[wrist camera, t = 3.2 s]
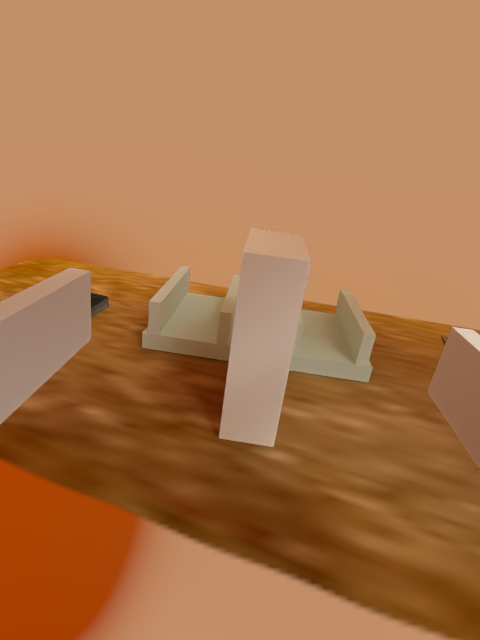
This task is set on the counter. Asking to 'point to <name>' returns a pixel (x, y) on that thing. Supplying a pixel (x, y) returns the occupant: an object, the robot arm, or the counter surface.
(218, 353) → the slotted rack base
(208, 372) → the counter surface
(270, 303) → the beige rectangular block
